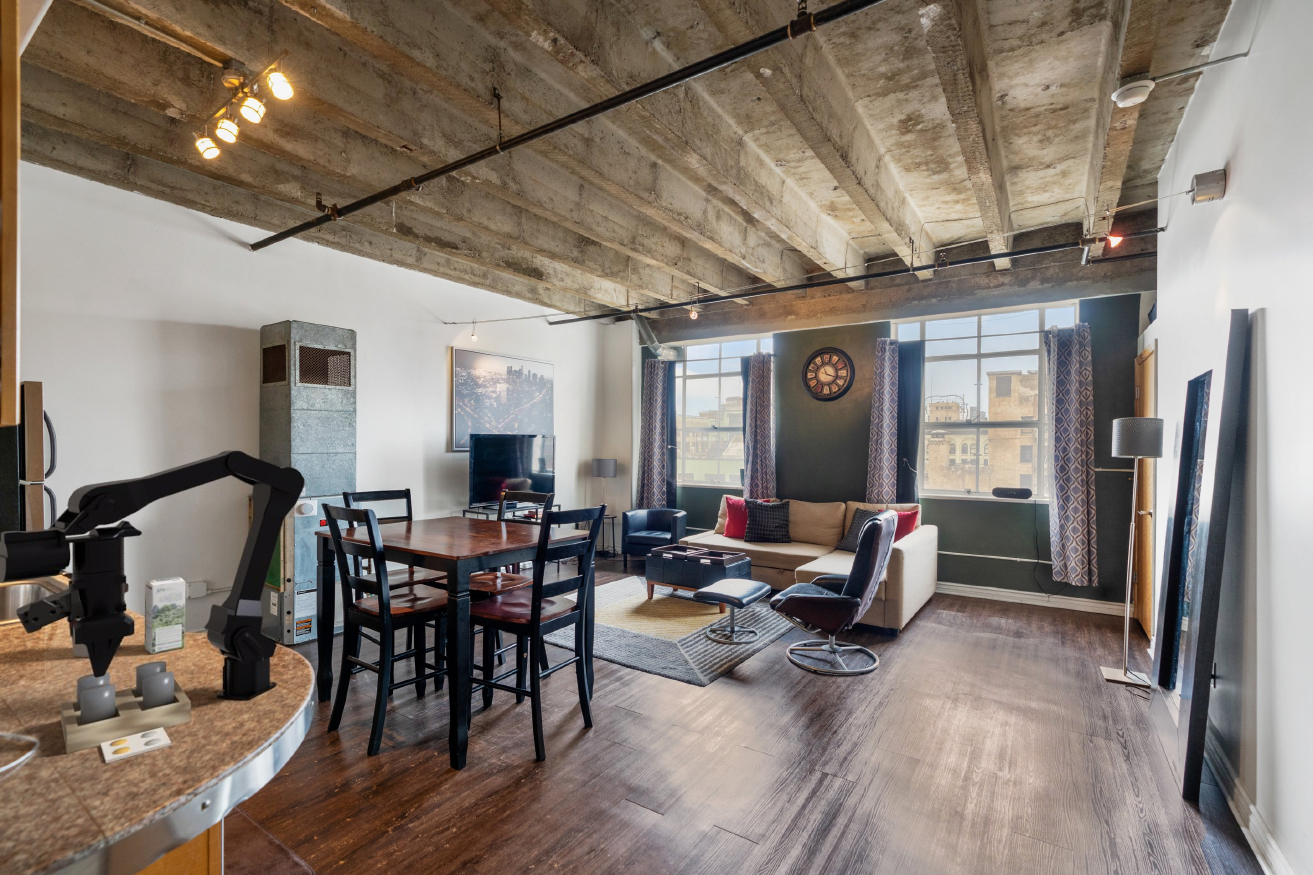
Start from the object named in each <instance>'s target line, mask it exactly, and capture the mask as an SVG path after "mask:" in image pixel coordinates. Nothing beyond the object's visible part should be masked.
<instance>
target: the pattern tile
mask: <svg viewBox="0 0 1313 875" xmlns="http://www.w3.org/2000/svg"><path fill="white" fill-rule="evenodd" d="M170 746H172V741H171V740H170V738H169V736H168V734H167V732H166V730H165V728H163V727H161V728H157V729H154V730H150V731H146V732H142V733H138V734H134V735H131V736H127V737H123V738H119V739H115V740H111V741H108V742H104V743H101V745H100V749H101V751H102V755H103V759H104V761H105V764H109V763H112V762H116V761H119V760H122V759H126V758H127V759H128V758H130V757H133V756H134V757H135V756H137V755H141V754H144V753H148V752H152V751H156V750H159V749H163V748H166V747H170Z"/></svg>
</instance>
